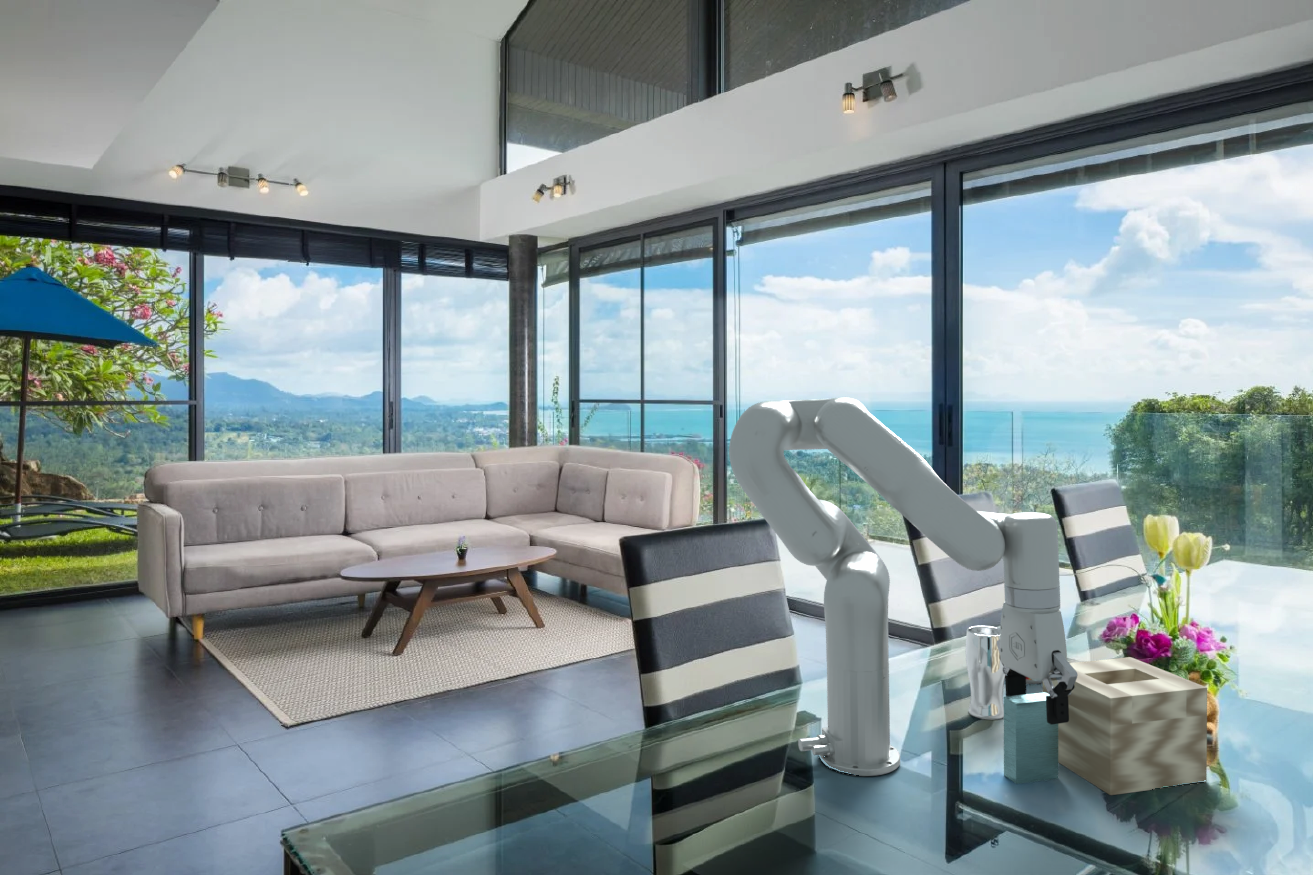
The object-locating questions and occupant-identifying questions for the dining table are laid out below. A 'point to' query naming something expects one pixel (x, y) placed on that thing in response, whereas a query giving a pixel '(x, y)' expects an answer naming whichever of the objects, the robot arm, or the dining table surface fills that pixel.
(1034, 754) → the tall teal pillar
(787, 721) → the dining table surface
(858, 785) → the dining table surface
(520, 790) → the dining table surface
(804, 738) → the robot arm
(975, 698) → the chrome pint tumbler
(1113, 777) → the wooden box with hole
